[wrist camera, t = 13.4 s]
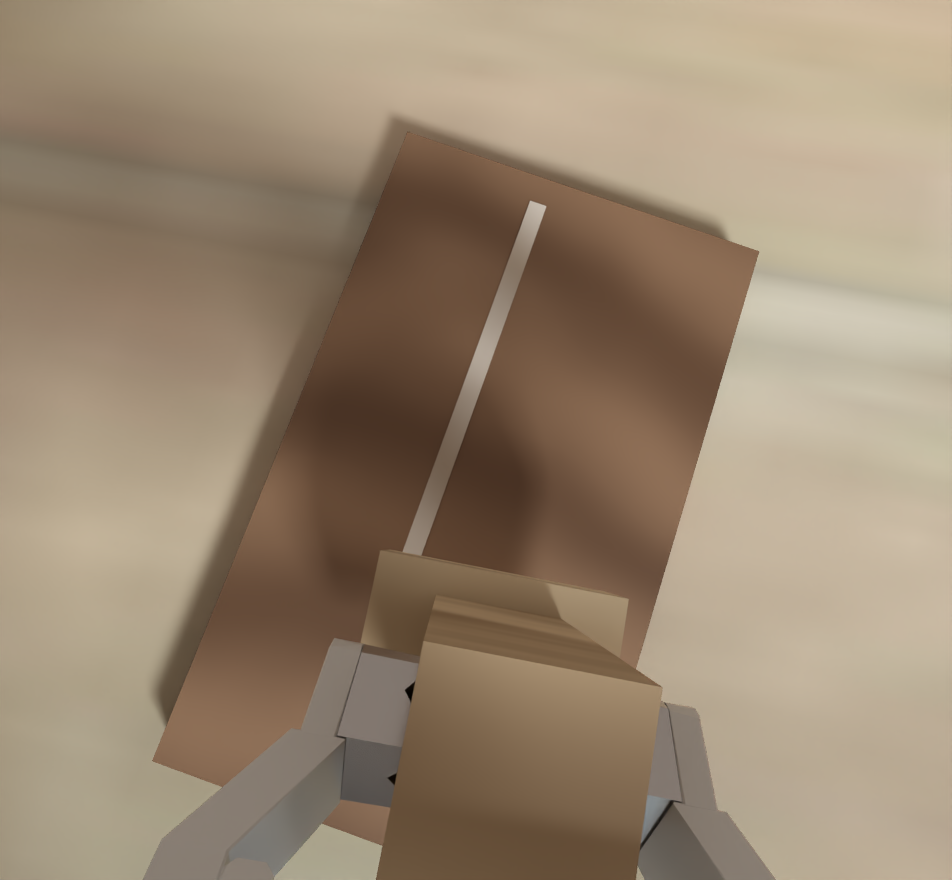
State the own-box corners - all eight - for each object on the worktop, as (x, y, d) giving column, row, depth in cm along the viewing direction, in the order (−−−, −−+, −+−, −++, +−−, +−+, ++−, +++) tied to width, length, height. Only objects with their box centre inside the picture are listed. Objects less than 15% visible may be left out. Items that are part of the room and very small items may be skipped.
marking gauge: (577, 763, 17) (743, 1049, 8) (353, 720, 17) (226, 951, 8) (604, 591, 18) (788, 648, 8) (389, 549, 18) (317, 556, 8)
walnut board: (556, 886, 21) (564, 913, 19) (173, 746, 21) (151, 761, 20) (740, 269, 24) (760, 250, 23) (410, 156, 25) (407, 130, 23)
